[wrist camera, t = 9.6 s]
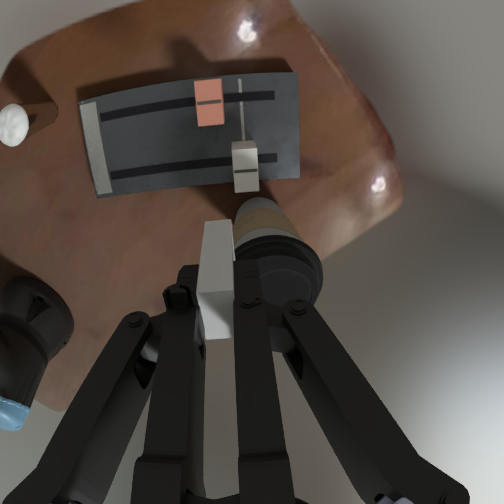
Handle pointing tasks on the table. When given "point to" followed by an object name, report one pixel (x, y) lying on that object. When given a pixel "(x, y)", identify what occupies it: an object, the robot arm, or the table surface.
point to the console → (190, 133)
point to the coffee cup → (276, 252)
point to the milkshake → (25, 120)
